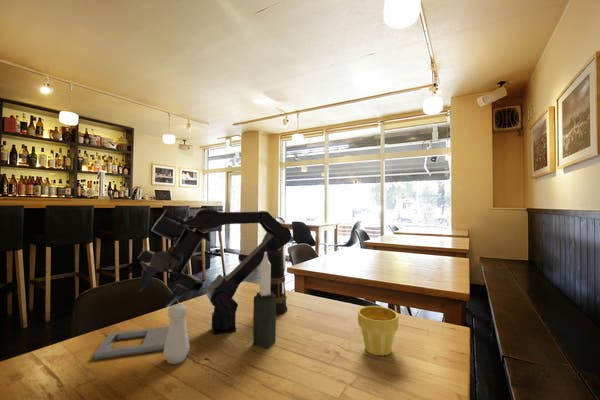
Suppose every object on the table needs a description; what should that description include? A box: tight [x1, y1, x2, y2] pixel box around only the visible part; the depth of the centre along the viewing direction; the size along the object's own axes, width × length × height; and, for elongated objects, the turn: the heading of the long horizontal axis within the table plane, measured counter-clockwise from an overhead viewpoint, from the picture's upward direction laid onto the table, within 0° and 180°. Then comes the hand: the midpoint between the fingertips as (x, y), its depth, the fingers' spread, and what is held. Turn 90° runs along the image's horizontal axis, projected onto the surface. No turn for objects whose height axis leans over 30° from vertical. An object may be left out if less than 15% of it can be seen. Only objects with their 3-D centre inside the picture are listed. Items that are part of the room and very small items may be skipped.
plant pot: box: [357, 305, 399, 357], centre depth 74 cm, size 10×10×10 cm
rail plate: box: [93, 325, 169, 361], centre depth 76 cm, size 20×11×2 cm, turn 108°
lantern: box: [267, 246, 288, 316], centre depth 101 cm, size 9×9×30 cm
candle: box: [252, 252, 277, 349], centre depth 77 cm, size 5×5×25 cm
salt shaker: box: [163, 303, 191, 365], centre depth 69 cm, size 6×6×13 cm
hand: (152, 299), depth 76 cm, fingers open, 9 cm apart
